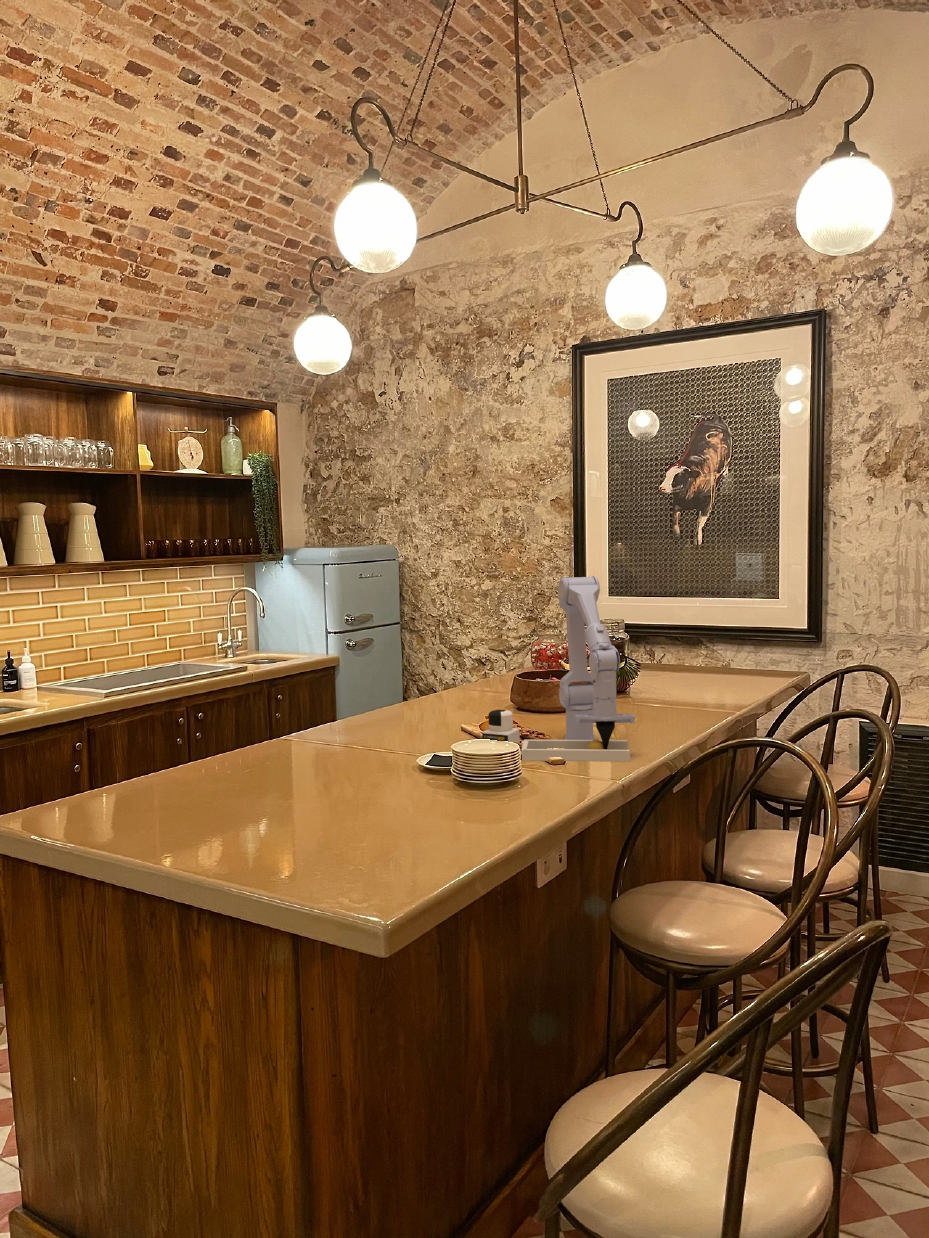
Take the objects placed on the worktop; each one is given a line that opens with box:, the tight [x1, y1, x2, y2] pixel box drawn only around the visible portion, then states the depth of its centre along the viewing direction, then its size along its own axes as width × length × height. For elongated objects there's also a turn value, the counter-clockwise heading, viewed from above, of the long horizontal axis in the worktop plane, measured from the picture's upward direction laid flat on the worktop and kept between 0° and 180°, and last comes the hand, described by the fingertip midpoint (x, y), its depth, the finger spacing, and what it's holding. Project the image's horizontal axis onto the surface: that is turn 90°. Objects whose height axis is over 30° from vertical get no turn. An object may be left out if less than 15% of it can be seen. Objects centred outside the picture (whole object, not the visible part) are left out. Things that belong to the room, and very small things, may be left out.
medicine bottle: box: [481, 709, 520, 744], centre depth 237 cm, size 7×7×12 cm
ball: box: [588, 739, 604, 750], centre depth 236 cm, size 4×4×4 cm
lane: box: [520, 739, 631, 763], centre depth 237 cm, size 12×26×3 cm, turn 83°
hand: (605, 751), depth 236 cm, fingers closed, pressing on ball
